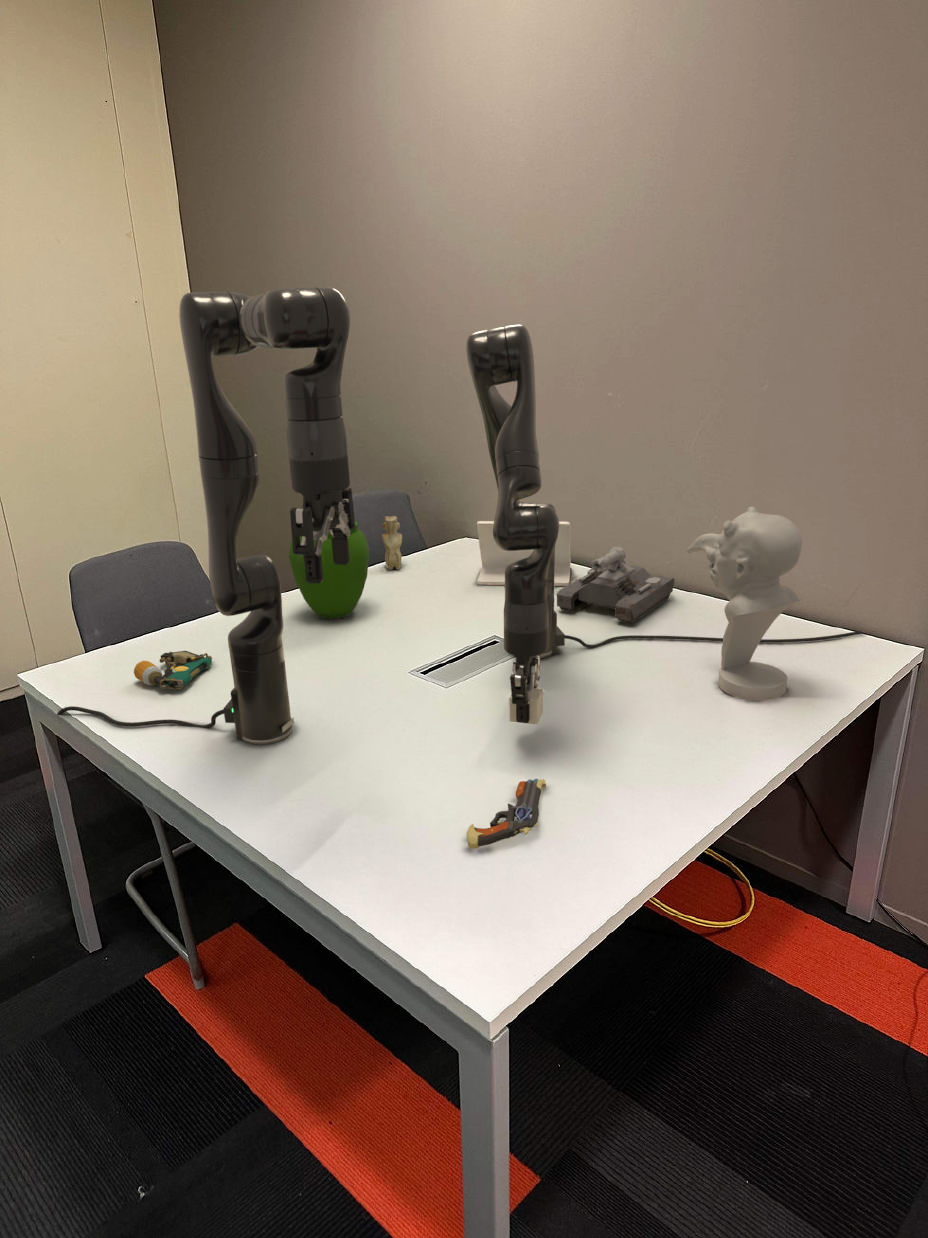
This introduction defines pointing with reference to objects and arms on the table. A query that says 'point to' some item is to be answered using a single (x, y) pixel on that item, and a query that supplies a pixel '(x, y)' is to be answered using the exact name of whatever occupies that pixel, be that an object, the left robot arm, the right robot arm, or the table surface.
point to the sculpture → (392, 542)
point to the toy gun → (511, 816)
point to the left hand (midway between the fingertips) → (328, 572)
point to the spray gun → (172, 669)
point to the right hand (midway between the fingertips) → (526, 714)
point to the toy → (616, 588)
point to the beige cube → (535, 706)
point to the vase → (334, 577)
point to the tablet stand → (519, 556)
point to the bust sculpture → (751, 595)
